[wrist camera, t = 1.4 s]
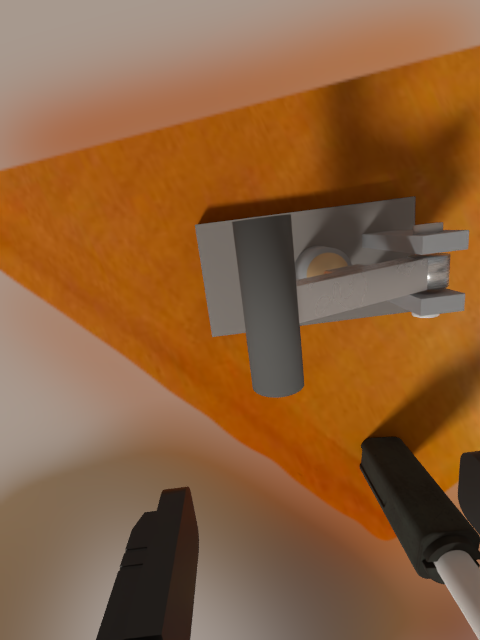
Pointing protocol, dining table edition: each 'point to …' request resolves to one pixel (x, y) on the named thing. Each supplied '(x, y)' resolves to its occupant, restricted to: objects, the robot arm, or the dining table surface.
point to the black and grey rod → (425, 522)
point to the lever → (308, 296)
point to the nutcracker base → (303, 236)
